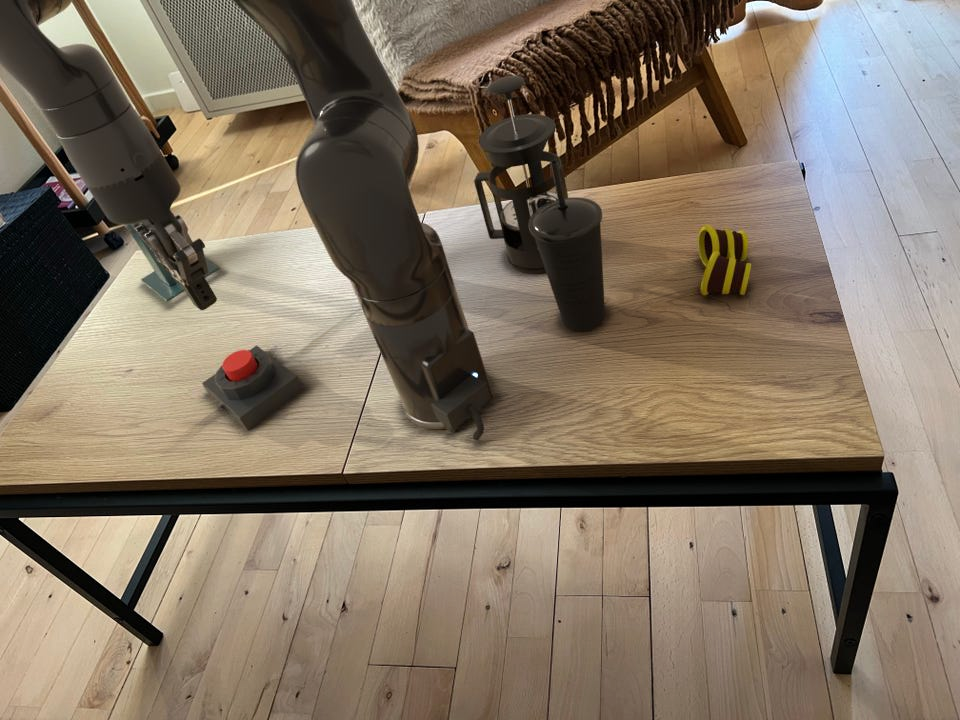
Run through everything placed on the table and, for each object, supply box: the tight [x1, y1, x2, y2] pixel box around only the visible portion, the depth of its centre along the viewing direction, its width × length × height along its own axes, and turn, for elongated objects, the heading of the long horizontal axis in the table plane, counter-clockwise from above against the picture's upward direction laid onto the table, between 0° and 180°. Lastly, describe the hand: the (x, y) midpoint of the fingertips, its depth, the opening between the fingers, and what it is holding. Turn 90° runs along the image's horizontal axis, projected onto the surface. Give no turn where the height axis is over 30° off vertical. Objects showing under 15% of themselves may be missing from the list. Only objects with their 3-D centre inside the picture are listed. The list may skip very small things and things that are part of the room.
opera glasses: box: [697, 224, 752, 296], centre depth 87 cm, size 10×5×5 cm, turn 170°
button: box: [221, 349, 258, 382], centre depth 90 cm, size 4×4×2 cm
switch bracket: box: [123, 223, 220, 302], centre depth 114 cm, size 10×9×13 cm
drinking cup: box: [528, 161, 606, 333], centre depth 83 cm, size 8×8×20 cm
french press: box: [473, 75, 569, 275], centre depth 93 cm, size 12×9×23 cm
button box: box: [201, 345, 305, 432], centre depth 92 cm, size 10×8×4 cm
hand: (207, 304), depth 85 cm, fingers closed
